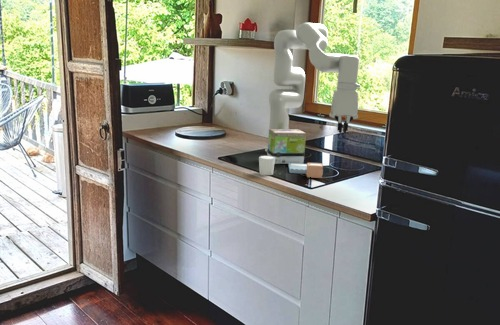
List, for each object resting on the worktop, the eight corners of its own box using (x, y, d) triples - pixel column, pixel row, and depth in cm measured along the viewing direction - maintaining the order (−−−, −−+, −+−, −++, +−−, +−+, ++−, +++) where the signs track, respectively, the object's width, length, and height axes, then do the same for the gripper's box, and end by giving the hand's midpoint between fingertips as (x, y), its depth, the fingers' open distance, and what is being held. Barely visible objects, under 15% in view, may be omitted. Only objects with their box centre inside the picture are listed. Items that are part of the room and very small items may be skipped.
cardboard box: (306, 174, 195) (307, 162, 193) (320, 174, 194) (321, 163, 193) (307, 177, 190) (308, 165, 188) (321, 178, 190) (322, 166, 188)
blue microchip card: (288, 166, 206) (288, 162, 205) (319, 167, 206) (319, 164, 205) (289, 172, 195) (289, 169, 195) (322, 174, 195) (323, 170, 195)
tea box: (273, 164, 207) (275, 132, 204) (266, 159, 217) (268, 128, 213) (304, 164, 211) (306, 132, 208) (296, 158, 221) (298, 128, 217)
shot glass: (264, 176, 188) (265, 159, 186) (254, 172, 194) (255, 156, 192) (277, 174, 192) (278, 158, 190) (267, 170, 198) (268, 154, 196)
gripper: (364, 87, 186) (359, 131, 191) (325, 85, 186) (322, 129, 191) (368, 88, 179) (363, 135, 183) (328, 86, 179) (324, 133, 184)
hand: (342, 132), depth 187 cm, fingers closed
